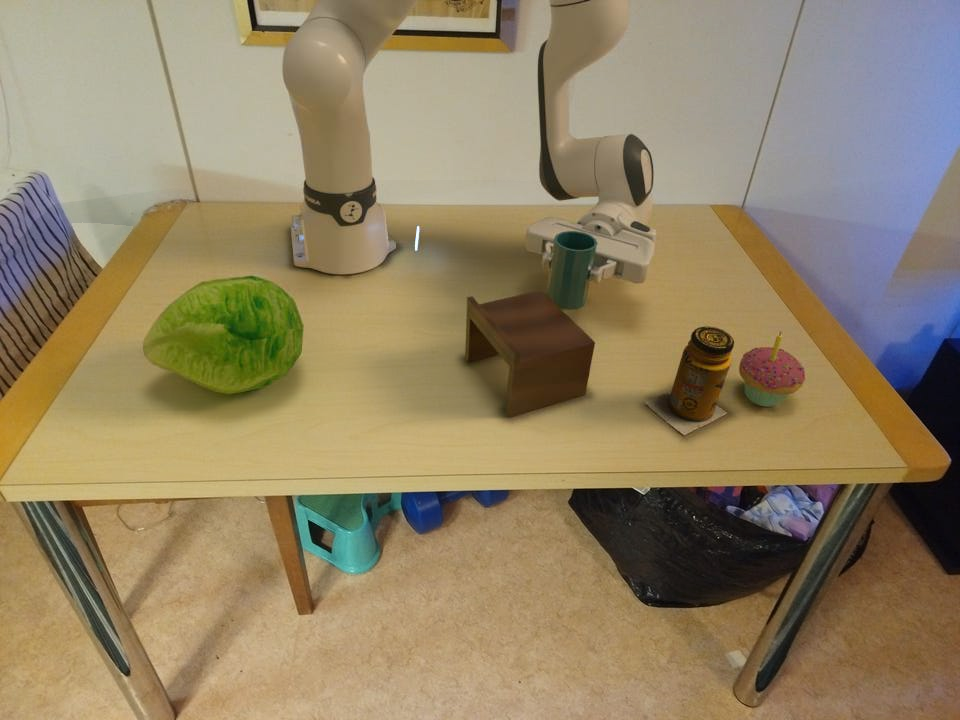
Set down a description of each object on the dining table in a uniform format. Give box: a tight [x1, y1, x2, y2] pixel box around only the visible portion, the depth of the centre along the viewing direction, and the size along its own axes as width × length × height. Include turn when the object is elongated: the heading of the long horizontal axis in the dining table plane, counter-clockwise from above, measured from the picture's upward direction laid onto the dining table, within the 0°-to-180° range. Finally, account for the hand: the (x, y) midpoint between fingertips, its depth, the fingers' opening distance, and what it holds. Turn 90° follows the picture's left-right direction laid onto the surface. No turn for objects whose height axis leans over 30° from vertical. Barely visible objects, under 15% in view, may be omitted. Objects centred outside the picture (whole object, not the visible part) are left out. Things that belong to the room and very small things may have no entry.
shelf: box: [464, 289, 596, 418], centre depth 91 cm, size 14×12×11 cm
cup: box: [546, 231, 598, 311], centre depth 98 cm, size 6×6×10 cm
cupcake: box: [738, 330, 806, 408], centre depth 89 cm, size 9×8×12 cm
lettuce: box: [142, 275, 304, 395], centre depth 86 cm, size 17×20×15 cm
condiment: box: [644, 325, 735, 436], centre depth 86 cm, size 7×8×12 cm
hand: (569, 270), depth 97 cm, fingers closed on cup, 6 cm apart
